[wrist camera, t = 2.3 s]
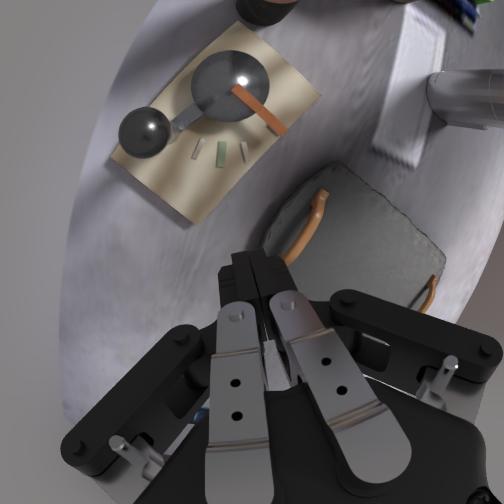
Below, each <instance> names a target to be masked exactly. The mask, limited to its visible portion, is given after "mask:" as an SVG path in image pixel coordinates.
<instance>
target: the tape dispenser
mask: <svg viewBox="0 0 504 504" xmlns="http://www.w3.org/2000/svg"><path fill="white" fill-rule="evenodd" d="M474 1H475V2H476V3H478V4H482V3H487V2H493V1H494V0H474Z"/></svg>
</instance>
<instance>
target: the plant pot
mask: <svg viewBox="0 0 504 504" xmlns="http://www.w3.org/2000/svg"><path fill="white" fill-rule="evenodd" d="M393 1H396V2H399V3H411V2H414V1H417V0H393Z"/></svg>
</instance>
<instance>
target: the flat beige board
mask: <svg viewBox="0 0 504 504" xmlns="http://www.w3.org/2000/svg"><path fill="white" fill-rule="evenodd" d="M225 50H236V51H241V52H245V53H247V54H249V55H251V56H253V57H254V58H256V59H257V60H258V61H259V62H260V63H261V64H262V65H263V66H264V68H265V70H266V72H267V74H268V77H269V82H270V90H269V95H268V98H267V100H266V102H265V104H264V105H263V106H264V107H266V108H267V109H268V110H269V111H270V112H271V113H272V114H273V115H274V116H275V117H276V118H277V119H278V120H279V121H280V122H281V123H282V124H283V125H285V126H286V127H287V128H289V127H290V126H291V125H292V124H293V123H294V122H295V121H296V120H297V119H298V118H299V117H300V116H301V115H302V114H303V113H304V112H305V111H306V110H307V109H308V108H309V107H310V106H311V105H312V104H313V103H314V102H315V101H316V100H317V99H319V98H320V97H321V96H322V95H321V94H320V93H319V92H318V91H317V90H316V89H315V88H314V87H313V86H312V85H311V84H310V83H309V82H308V81H307V80H306V79H305V78H304V77H303V76H302V75H301V74H300V73H299V72H298V71H297V70H296V69H295V68H294V67H292V66H291V65H290V64H289V63H288V62H287V61H286V60H285V59H284V58H283V57H282V56H281V55H279V54H278V53H277V52H276V51H275V50H274V49H273V48H271V47H270V46H269V45H268V44H267V43H266V42H264V41H263V40H262V39H261V38H260V37H258V36H257V35H256V34H255V33H254V32H252V31H251V30H250V29H249V28H247V27H246V26H245V25H243V24H242V23H241V22H240V21H237V22H235V23H234V24H233V25H232V26H230V27H229V28H228V29H227V30H226V31H224V32H223V33H222V34H221V35H220V36H219V37H217V38H216V39H215V40H214V41H213V42H212V43H211V44H210V45H208V46H207V47H206V48H205V49H204V50H203V51H202V52H201V53H200V54H199V55H198V56H197V57H196V58H194V59H193V60H192V61H191V62H190V63H189V64H188V65H187V66H186V67H185V68H184V69H183V70H182V71H181V72H180V73H179V74H178V75H177V76H176V78H175V79H174V80H173V81H172V82H171V83H170V84H169V85H168V86H167V87H166V88H165V89H164V90H163V91H162V93H161V94H160V95H159V96H158V97H157V98H156V99H155V100H154V102H153V103H152V104H151V105H150V106H149V107H152V108H155V109H158V110H160V111H161V112H162V113H163V114H165V116H166V117H167V119H168V120H169V121H171V120H173V119H174V118H175V117H176V116H177V115H179V114H180V113H181V112H182V111H184V110H185V109H186V108H188V107H189V106H190V105H191V104H193V103H194V99H193V97H192V93H191V80H192V76H193V73H194V71H195V69H196V68H197V66H198V65H199V64H200V63H201V62H202V61H203V60H204V59H205V58H207V57H208V56H210V55H212V54H214V53H217V52H220V51H225ZM279 137H280V136H279V135H278V134H277V133H276V132H275V131H274V130H273V129H272V128H271V127H270V126H269V125H268V124H267V123H266V122H265V121H263V120H262V119H261V118H260V117H259V116H258V115H257V114H256V113H255V114H254V115H252V116H251V117H249V118H247V119H244V120H241V121H237V122H231V123H225V122H219V121H215V120H213V119H211V118H209V117H207V116H206V115H203V116H202V117H200V118H199V119H198V120H197V121H195V122H194V123H193V124H192V125H190V126H189V127H188V128H187V129H185V130H184V131H183V132H182V133H180V135H179V138H178V139H177V141H176V142H174V143H173V144H170V145H167V146H166V147H165V148H164V150H163V151H162V152H160V153H159V154H158V155H156V156H154V157H152V158H148V159H137V158H134V157H131V156H130V155H128V154H127V153H126V152H125V151H124V150H123V149H122V147H121V145H120V144H119V145H118V147H117V148H116V149H115V151H114V152H113V154H112V155H111V156H110V157H111V158H112V159H113V160H114V161H116V162H117V163H118V164H119V165H121V166H122V167H123V168H124V169H126V170H127V171H128V172H129V173H131V174H132V175H133V176H134V177H136V178H137V179H138V180H139V181H141V182H142V183H143V184H144V185H146V186H147V187H148V188H149V189H151V190H152V191H153V192H154V193H156V194H157V195H158V196H159V197H161V198H162V199H163V200H164V201H166V202H167V203H168V204H169V205H171V206H172V207H173V208H175V209H176V210H177V211H178V212H180V213H181V214H182V215H183V216H185V217H186V218H187V219H189V220H190V221H191V222H192V223H194V224H195V225H196V226H197V227H198V226H199V225H200V223H201V222H202V221H203V220H204V219H205V218H206V217H207V215H208V214H209V213H210V212H211V211H212V210H213V209H214V207H215V206H216V205H217V204H218V203H219V202H220V201H221V199H222V198H223V197H224V196H225V195H226V194H227V193H228V192H229V191H230V189H231V188H232V187H233V186H234V185H235V184H236V183H237V182H238V181H239V180H240V178H241V177H242V176H243V175H244V174H245V173H246V172H247V171H248V170H249V169H250V168H251V167H252V166H253V164H254V163H255V162H256V161H257V160H258V159H259V158H260V157H261V156H262V155H263V154H264V153H265V152H266V151H267V150H268V149H269V148H270V147H271V146H272V144H273V143H274V142H275V141H276V140H277V139H278V138H279Z"/></svg>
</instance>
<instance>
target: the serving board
mask: <svg viewBox="0 0 504 504" xmlns="http://www.w3.org/2000/svg"><path fill="white" fill-rule="evenodd" d="M261 247H263V248H264V250H265V253H266V256H267V257H269V256H274V255H277V256H279V257H280V258H282V259H283V260H284V261H285V263H286V265H287V268H288V270H289V272H290V274H291V276H292V278H293V280H294V282H295V285H296V287H297V289H298V291H299V292H301V293H302V294H304V295H305V296H306V298H307V299H308V300H312V301H330V297H331V296H332V295H333V294H334V293H335V292H337V291H339V290H343V289H353V290H357V291H360V292H363V293H366V294H369V295H372V296H374V297H377V298H380V299H383V300H386V301H389V302H392V303H395V304H398V305H400V306H403V307H406V308H409V309H412V310H415V311H418V312H421V313H424V314H425V312H426V311H427V309H428V308H429V306H430V305H431V303H432V301H433V299H434V297H435V290H436V287H437V284H438V282H439V280H440V277H441V275H442V272H443V270H444V268H445V264H446V256H445V255H444V253H443V252H442V251H441V250H440V249H439V248H438V247H437V246H436V245H435V244H434V243H433V242H432V241H431V240H430V239H429V238H428V236H427V235H426V234H424V233H423V232H421V231H420V230H419V229H418V228H416V227H415V225H414V224H413V223H412V221H411V220H410V219H409V218H408V217H407V216H406V215H405V214H403V213H401V212H400V211H399V210H398V209H397V208H396V207H394V206H393V205H392V204H391V203H390V201H389V200H387V199H386V197H385V196H384V195H383V194H381V193H379V192H377V191H375V190H374V189H371V187H370V186H369V185H368V184H367V183H365V182H364V181H363V180H362V179H361V178H359V177H358V176H357V175H355V174H354V173H353V172H352V171H350V170H349V169H348V168H347V167H345V166H344V165H342V164H340V163H338V162H334V161H333V162H331V163H328V164H326V165H325V166H323V167H322V168H321V169H320V170H319V171H318V172H316V173H315V174H313V175H312V176H311V177H309V178H307V179H306V180H305V181H304V182H303V183H302V184H301V185H299V186H298V187H297V188H296V190H295V191H294V192H293V194H292V195H291V196H290V197H289V198H287V199H286V200H285V201H284V202H283V204H282V205H281V206H280V208H279V210H278V212H277V213H276V214H275V216H274V217H273V219H272V221H271V223H270V224H269V226H268V227H267V229H266V231H265V233H264V236H263V239H262V241H261V243H260V246H259V248H261ZM363 336H365V337H368V338H370V339H373V340H375V341H378V342H380V343H383V344H386V342H384V341H382V340H379V339H377V338H374V337H372V336H369V335H367V334H364V333H363Z"/></svg>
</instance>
